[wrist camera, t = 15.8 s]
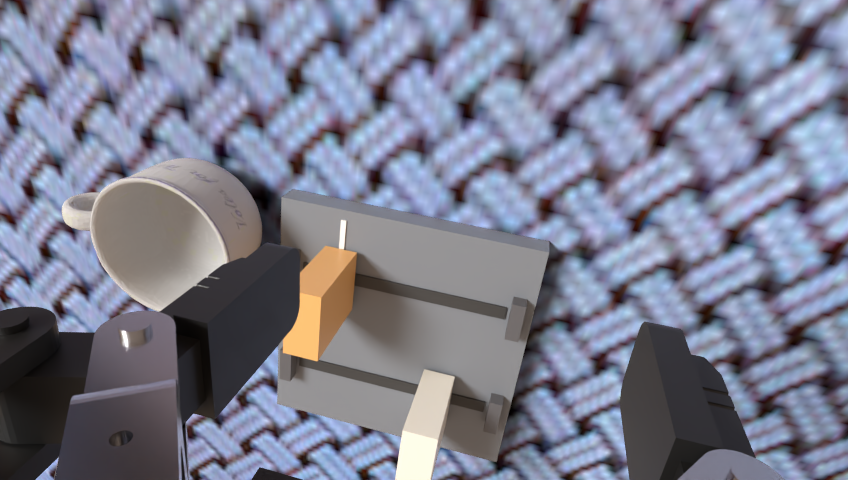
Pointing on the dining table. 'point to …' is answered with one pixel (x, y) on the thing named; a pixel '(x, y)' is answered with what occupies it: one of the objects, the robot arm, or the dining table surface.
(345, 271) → the fader orange
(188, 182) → the teacup
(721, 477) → the robot arm
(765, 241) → the dining table surface
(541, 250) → the console
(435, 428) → the fader ivory
